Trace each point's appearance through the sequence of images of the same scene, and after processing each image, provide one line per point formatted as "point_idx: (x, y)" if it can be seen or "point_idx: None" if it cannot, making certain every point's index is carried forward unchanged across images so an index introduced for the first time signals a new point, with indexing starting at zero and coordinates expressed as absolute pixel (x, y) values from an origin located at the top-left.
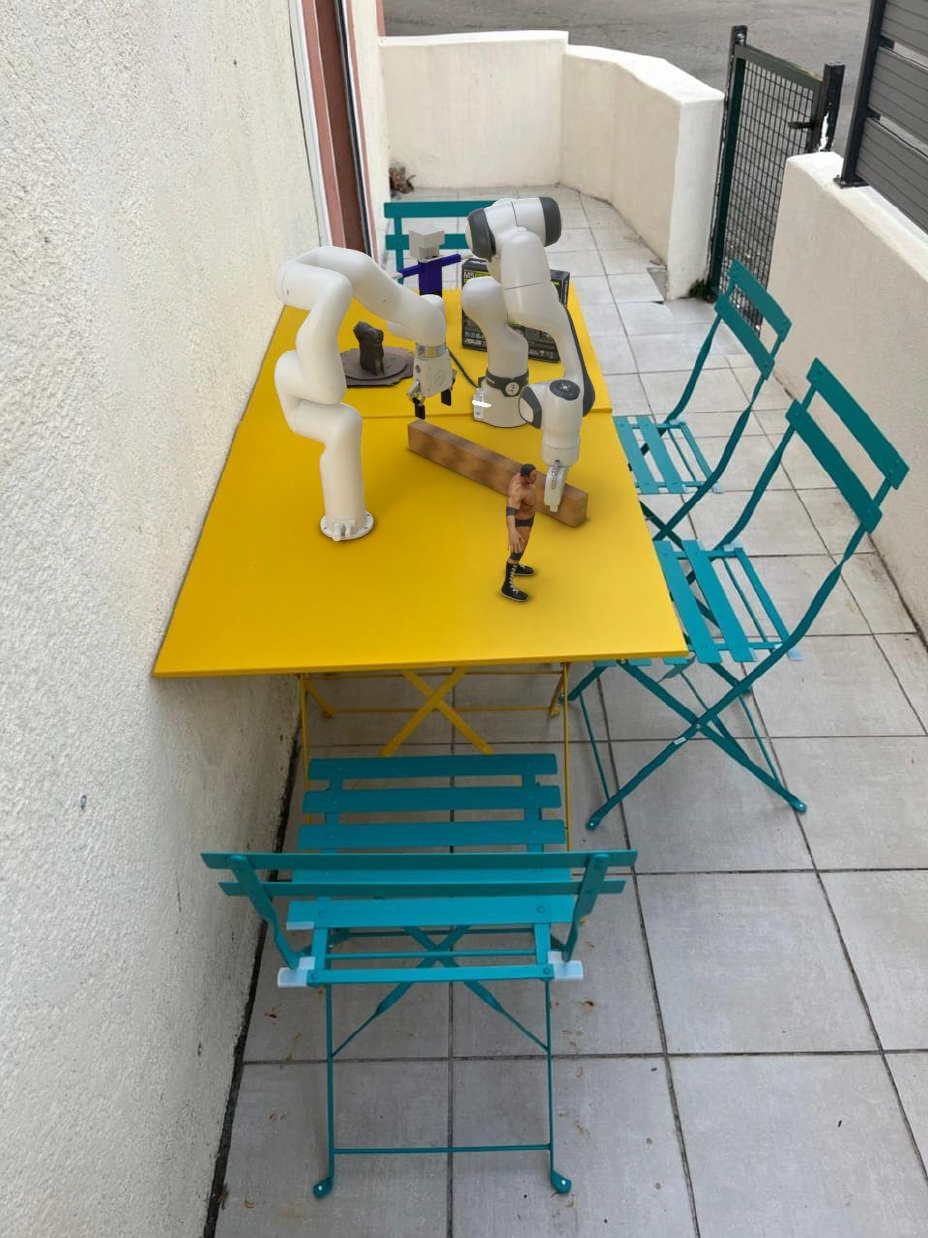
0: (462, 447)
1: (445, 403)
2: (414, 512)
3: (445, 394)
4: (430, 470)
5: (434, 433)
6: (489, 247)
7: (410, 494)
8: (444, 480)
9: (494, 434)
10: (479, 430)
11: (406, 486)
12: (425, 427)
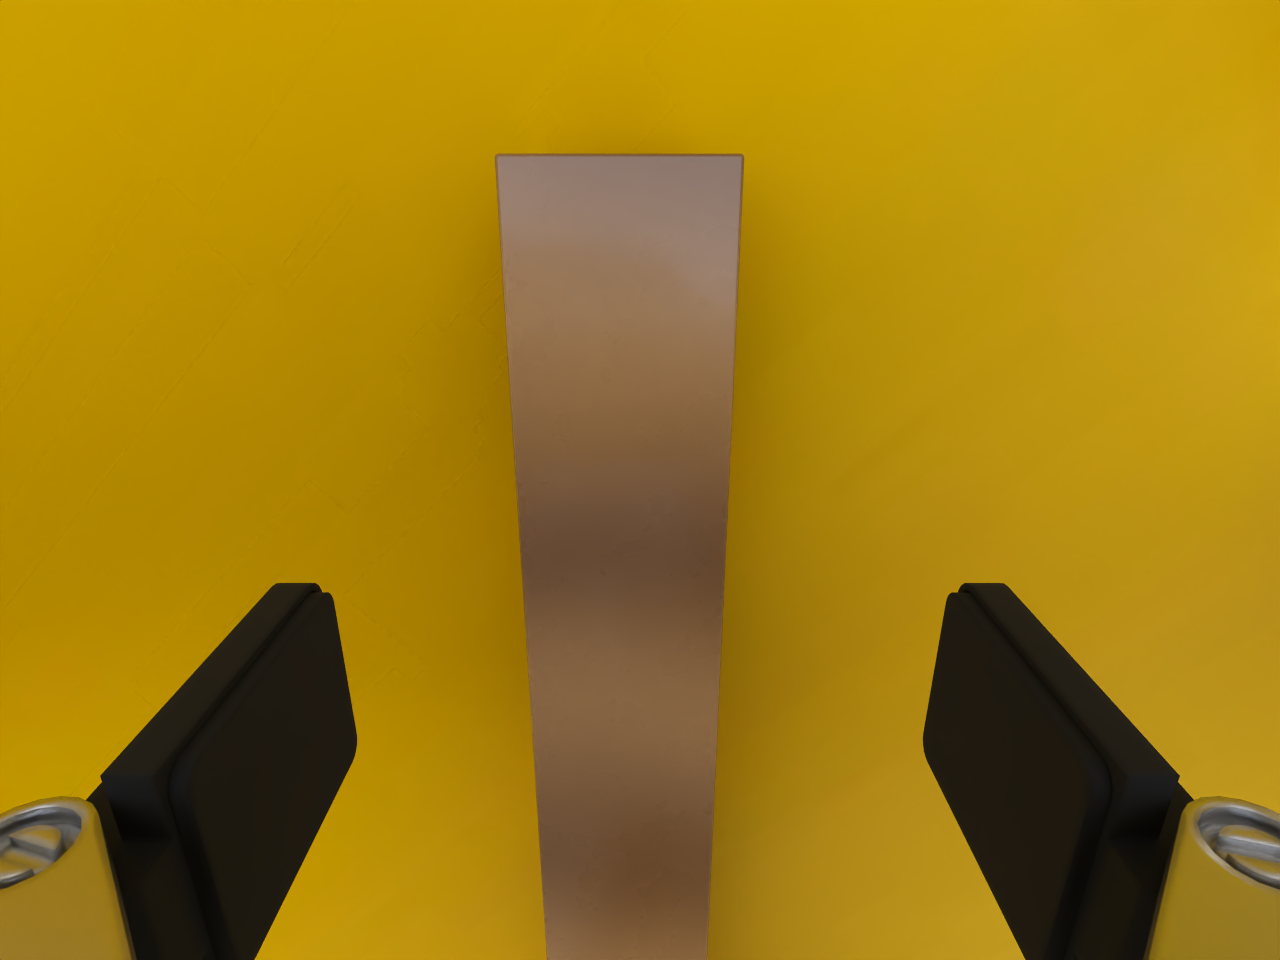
0: (568, 910)
1: (938, 692)
2: None
3: (1020, 836)
4: (439, 554)
5: (576, 578)
6: None
7: (118, 667)
8: (423, 705)
9: (1204, 545)
10: (1211, 412)
11: (152, 580)
12: (610, 403)
